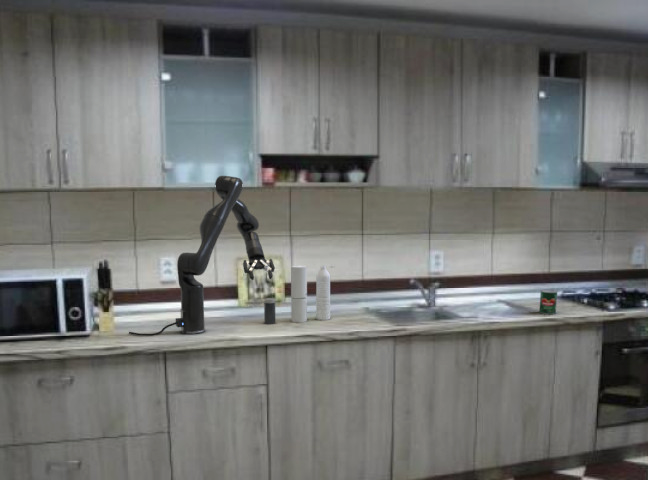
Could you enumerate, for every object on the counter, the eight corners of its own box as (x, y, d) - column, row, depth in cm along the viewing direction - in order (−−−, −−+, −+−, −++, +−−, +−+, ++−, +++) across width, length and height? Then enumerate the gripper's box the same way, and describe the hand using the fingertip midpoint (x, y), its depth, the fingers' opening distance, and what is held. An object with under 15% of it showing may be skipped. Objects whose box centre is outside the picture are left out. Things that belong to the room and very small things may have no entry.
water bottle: (319, 320, 284) (319, 266, 280) (314, 318, 290) (314, 265, 286) (336, 319, 288) (337, 265, 283) (331, 316, 294) (331, 264, 289)
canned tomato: (543, 314, 302) (545, 292, 300) (536, 311, 310) (537, 289, 308) (558, 314, 303) (560, 292, 301) (551, 311, 311) (552, 289, 309)
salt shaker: (266, 324, 275) (265, 300, 273) (263, 322, 280) (262, 298, 278) (277, 323, 277) (276, 299, 275) (273, 321, 282) (273, 297, 280)
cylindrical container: (309, 319, 286) (309, 266, 282) (303, 322, 279) (303, 267, 275) (295, 318, 288) (294, 265, 284) (288, 321, 282) (288, 267, 277)
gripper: (241, 246, 288) (248, 274, 280) (270, 245, 294) (278, 272, 285) (238, 257, 294) (245, 284, 286) (267, 255, 299) (275, 282, 291)
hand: (262, 278), depth 285 cm, fingers open, 8 cm apart
